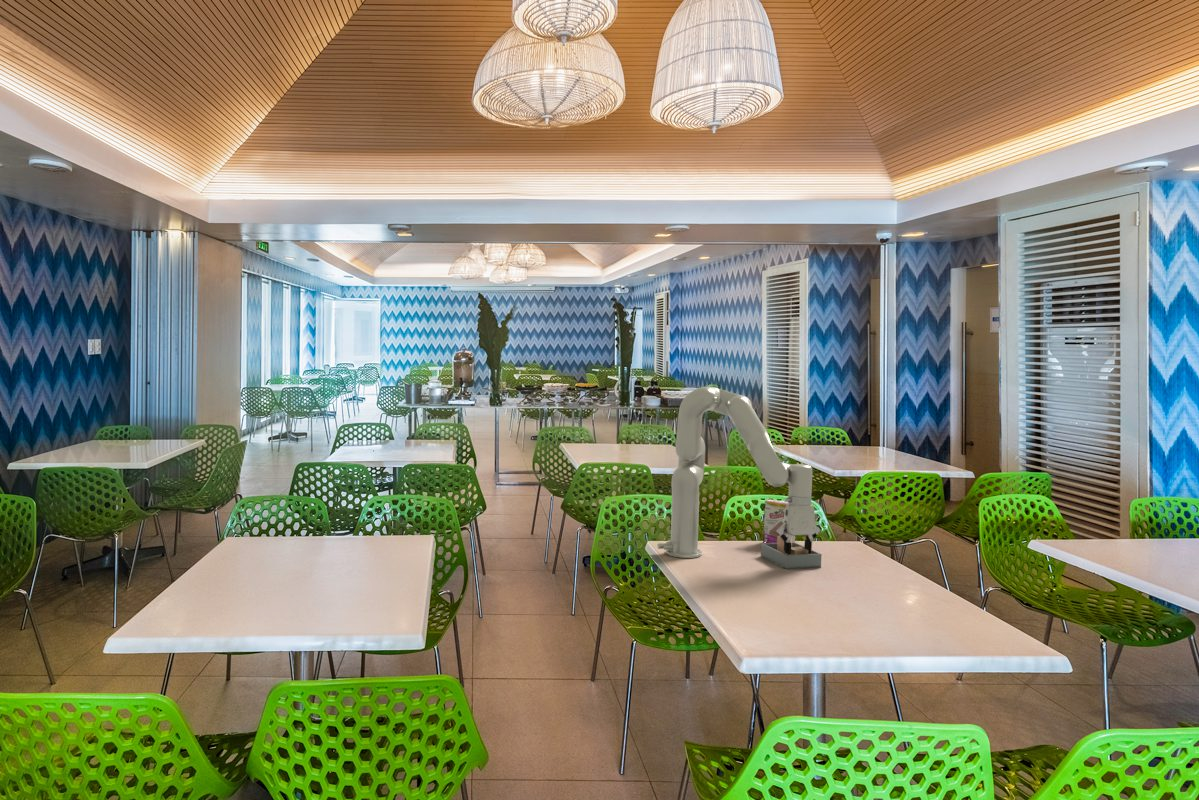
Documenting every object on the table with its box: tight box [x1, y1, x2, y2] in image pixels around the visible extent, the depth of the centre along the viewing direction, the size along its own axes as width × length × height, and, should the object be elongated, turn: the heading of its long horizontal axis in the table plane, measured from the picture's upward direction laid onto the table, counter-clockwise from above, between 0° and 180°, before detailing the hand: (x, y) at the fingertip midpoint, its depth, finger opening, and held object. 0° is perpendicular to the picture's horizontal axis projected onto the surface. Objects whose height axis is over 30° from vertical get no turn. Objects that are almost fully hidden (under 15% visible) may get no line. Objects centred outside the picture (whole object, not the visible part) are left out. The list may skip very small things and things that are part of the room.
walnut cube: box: [787, 547, 808, 555], centre depth 256 cm, size 5×5×5 cm
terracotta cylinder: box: [777, 535, 792, 555], centre depth 265 cm, size 5×5×7 cm
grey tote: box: [760, 541, 822, 570], centre depth 261 cm, size 13×17×4 cm
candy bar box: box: [762, 499, 796, 543], centre depth 286 cm, size 11×5×16 cm, turn 58°
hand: (797, 552), depth 256 cm, fingers open, 7 cm apart
